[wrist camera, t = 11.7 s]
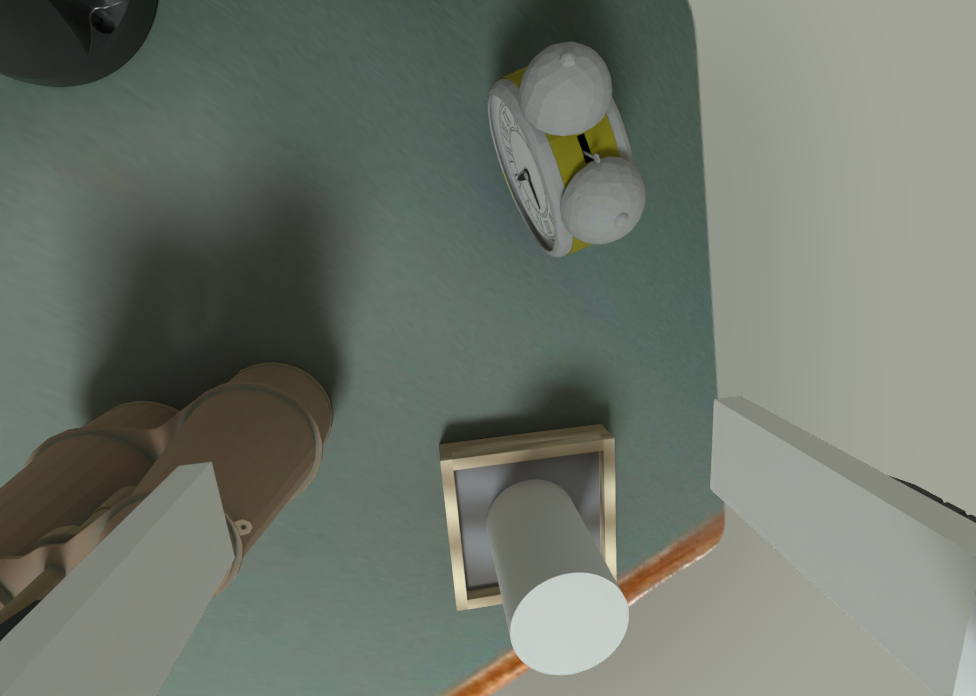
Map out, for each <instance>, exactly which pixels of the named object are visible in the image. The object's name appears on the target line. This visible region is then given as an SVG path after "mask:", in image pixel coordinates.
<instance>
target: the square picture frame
mask: <svg viewBox="0 0 976 696" xmlns="http://www.w3.org/2000/svg"><path fill="white" fill-rule="evenodd" d="M439 450H440V463H441V472H442V481H443V490H444V498H445V507H446V516H447V525H448V534H449V543H450V552H451V561H452V569H453V578H454V587H455V596H456V605H457V611H461V610H467V609H473V608H479V607H485V606H491V605H497V604H503V602H502V597H501V592H500V588H499V583H498V578H497V574H496V569H495V565H494V560H493V555H492V551H491V546H490V541H489V537H488V532H487V515H488V512H489V509H490V507H491V505H492V503H493V502H494V500H495V499H496V498H497V496H498V495H499V494H500V493H501V492H503V491H504V490H505V489H507V488H508V487H510V486H512V485H514V484H516V483H518V482H521V481H525V480H533V479H538V480H546V481H549V482H552V483H554V484H556V485H558V486H560V487H561V488H562V489H563V490H565V491H566V493H567V494H568V495H569V497H570V498H571V500H572V502H573V504H574V505H575V507H576V509H577V511H578V513H579V515H580V516H581V518H582V520H583V522H584V524H585V526H586V527H587V529H588V531H589V533H590V535H591V537H592V538H593V540H594V542H595V544H596V546H597V548H598V549H599V551H600V553H601V555H602V557H603V558H604V560H605V562H606V564H607V566H608V568H609V569H610V571H611V573H612V575H613V577H614V579H615V580H616V509H615V438H614V437H613V436H612V435H611V434H610V433H609V432H608V430H607V429H606V428H605V427H604V426H603V425H602V424H596V425H588V426H580V427H572V428H564V429H556V430H549V431H541V432H533V433H525V434H517V435H509V436H501V437H493V438H486V439H478V440H470V441H462V442H454V443H446V444H439Z"/></svg>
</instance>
